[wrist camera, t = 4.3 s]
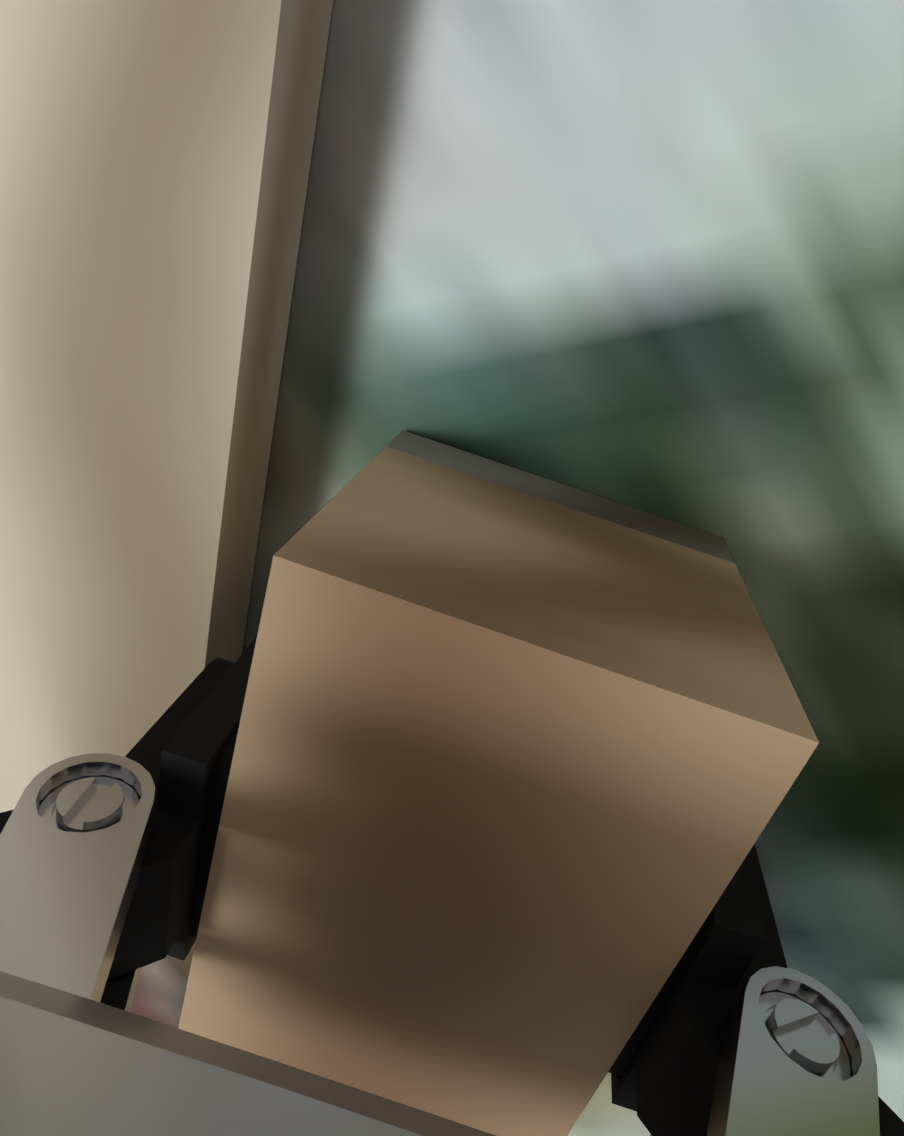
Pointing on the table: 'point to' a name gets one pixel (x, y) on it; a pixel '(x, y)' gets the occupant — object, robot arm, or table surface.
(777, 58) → the table surface
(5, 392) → the board
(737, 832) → the block
